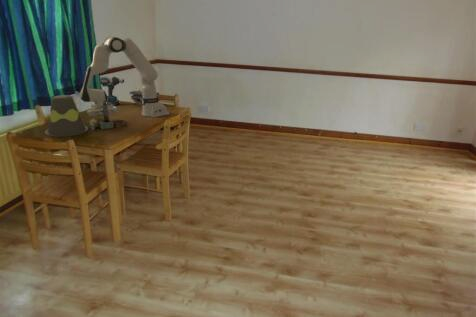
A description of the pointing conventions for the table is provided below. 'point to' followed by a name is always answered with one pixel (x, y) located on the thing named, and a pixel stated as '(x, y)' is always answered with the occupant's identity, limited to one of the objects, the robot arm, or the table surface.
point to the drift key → (95, 122)
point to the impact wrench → (111, 88)
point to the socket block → (102, 125)
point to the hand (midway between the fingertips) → (106, 113)
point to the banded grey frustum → (64, 118)
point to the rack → (119, 123)
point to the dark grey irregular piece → (138, 97)
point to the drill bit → (105, 112)
